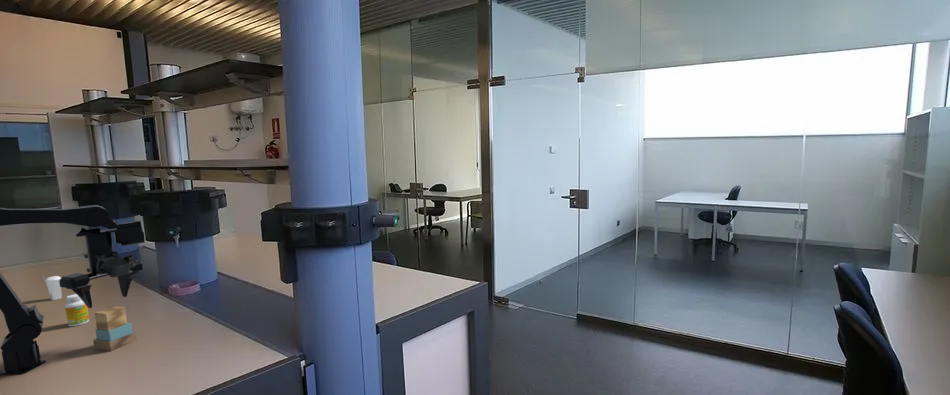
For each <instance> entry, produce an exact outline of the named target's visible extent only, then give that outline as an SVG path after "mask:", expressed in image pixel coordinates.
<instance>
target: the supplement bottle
mask: <svg viewBox="0 0 950 395" xmlns="http://www.w3.org/2000/svg"><path fill="white" fill-rule="evenodd" d="M66 301H67V303H65V305H64V307H65V313H66V319H67V320H66V321H67V325H68V326H69V327H77V326H81V325H86V324H87V323H89V322H90V314H89V308H88V307H87V306H86V304H85V303H84V302H83V301H82V300H81V298H80V297H79V296H78V295H77V294H76V293H74V294H70V295H67V296H66Z"/></svg>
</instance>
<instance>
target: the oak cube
mask: <svg viewBox="0 0 950 395" xmlns="http://www.w3.org/2000/svg"><path fill="white" fill-rule="evenodd" d="M94 319H95V325H96V329H99V330H106V331H109V330H112V329H115V328H118V327H120V326H123V325H126V324H127V323H128V320H127V313H126V308H125V307H124V306H114V305H113V306H109V307H107V308H104V309H101V310H97V311H95V312H94Z"/></svg>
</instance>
